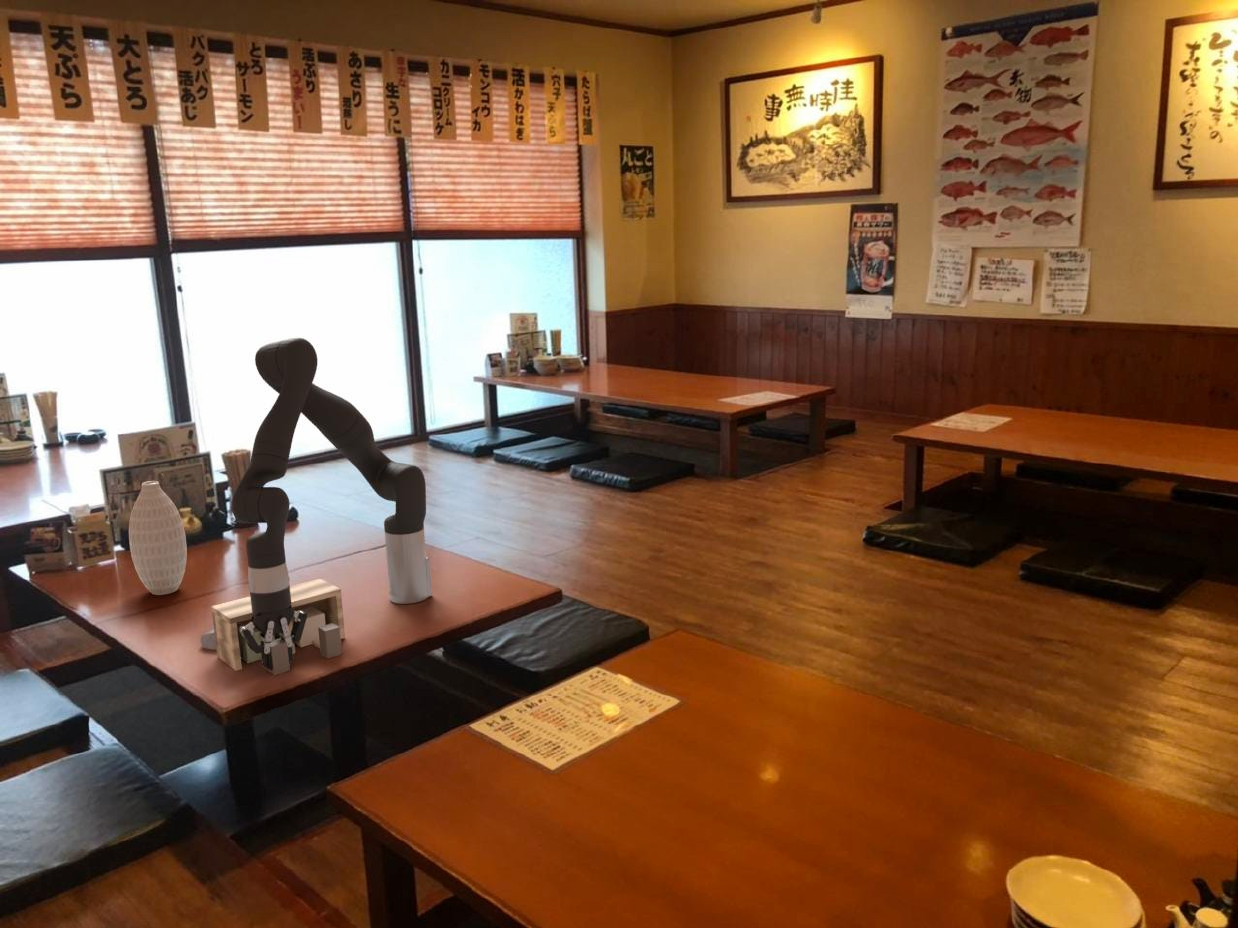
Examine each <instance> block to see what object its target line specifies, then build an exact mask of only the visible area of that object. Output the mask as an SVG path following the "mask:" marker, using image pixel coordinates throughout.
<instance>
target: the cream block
mask: <svg viewBox="0 0 1238 928" xmlns="http://www.w3.org/2000/svg"><path fill="white" fill-rule="evenodd" d="M298 611H299V610H298ZM301 611H303V612H305V613H306V614H307V619H306V623H305V626H304V629H303V633H302V636H301V640H300V641H298V642H295V643H294V644H295V645H296V646H298V647H299V648H303V647H307V646H309V645H314V647H316V648H318V649H320V655H321V656H323V657H324V658H327V659H330V658H333V657H336V656H340V655H342V654H343V651H342V639H341V638H340V627H338V626H337V625H335V624H333V623H331V624H328V625H326V624H325V614H324V613H323V612H321V611H319V610H317V609H316V608H314V607H309V608H305V609H302V610H301ZM293 624H294V620H293V618H292V625H293Z"/></svg>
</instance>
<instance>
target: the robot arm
mask: <svg viewBox="0 0 1238 928" xmlns="http://www.w3.org/2000/svg"><path fill="white" fill-rule="evenodd" d="M317 355H318V354H317V352H316V349H315V347H314V346H313V344H312V343H311V342H310V341H309V340H307V339H306V338H304V337H293V338H288V339H282V340H279V341H274V342H270V343H267V344H265V345H263V346H261V347H260V348H258V350H257V351H256V353H255V356H254V362H255V363H254V364H255V368H256V370H257V372H258V374H259V375H260V377H261V378H262V380H263V381H264V382H265V383H266V385H268V386H269V387H271V388H272V390H274V391H275V392H276V393H278V396H277V398H276V400H275V402H274V403H273V405H272V407H271V409H270V410H269V412H268V413H267V414H266V416H265V417H264V419H263V420H262V422H261V424H260V426H259V427H258V430H257V432H256V435H255V437H254V442H253V446H252V451H251V456H250V461H249V464H248V466H247V468H246V470H245V472H244V474H243V476H242V477H241V480H240V481H239V483H238V485H237V487H236V489H235V491H234V493H233V496H232V499H231V511H232V515H233V517H234V518H235V519H236V520H237V522H240V523H245V524H266V530H265V531H263V532H258V533H254V534H251V535H250V536H248V538H247V539H246V542H245V548H246V549H245V550H246V557H247V565H248V569H247V570H248V574H247V577H248V578H247V579H248V588H249V595H250V596H249V597H250V598H251V607H252V613H253V614H252V618H251V622H250V623H249V624H247V625H246V626H241V627H239V632H240V633H241V635H242V637H243V638H244V640H245V641H246V643H247V644H248V646H249V647H250V649H251V650H252V651H254V652H255V653H257V654H258V653H261V657H262V660H261V665H262V667H264V668H265V669H266V670H267V671H268V670H269V671H270V670H273V665H272V656H271V653H270V646H271V642H272V636H273V635H275V634H277V633H279V635H280V638H281V639H282V640H284V641H285V642H287V648H288V657H289V665H291V664H292V662H293V659H294V653H293V651H292V645H293V644H295V642H298V641H300V640H301V636H302V633H303V629H304V626H305V623H306V619H307V614H306V613H305V612H303V611H301V610H299V611H294V609H293V608H292V606H291V594H290V586H291V585H290V576H289V569H288V566H287V559H286V551H285V537H286V536H285V535H286V528H287V521H288V517H289V513H290V506H291V505H290V499H289V496H288V494H287V493H286V491H285V490H284V489H283V488H281V487H278V486H276V487H275V486H265V485H267V484H268V483H270V482H273V481H277V480H281V479H282V478H284V477H285V475H286V474H287V469H288V466H289V465H288V464H289V461H290V460H289V459H290V454H291V451H292V450H291V449H292V443H293V439H294V435H295V432H296V428H297V425H298V422H299V419H300V416H301V414H302V415H303V416H304V417H305V418H306V420H308V421H309V422H311V424H313V425H314V426H315V428H316V429H317V430H318V431H319V432H320V433H321V434H322V435H323V436H324V437H325V438H326V439H327V440H328V442H330V444H332V445H333V447H334V448H335V449H337V450H338V451H339V452H340V453H341V455H343V456H344V457H345V458H346V460H348V461H349V463H351V464H352V465H353V466H354V468H356V469H357V470H358V471H359V473H360V474H361V475H362V476H363V478H364V479H365V480H366V482H367V483H368V484H369V486H370V487H371V488H372V490H373V491H374V492H375V493H376V494H377V495H378V497H380V498H381V499H384V500H385V501H389V502H395V514H392V515H389V516H387V517H386V518H385V519H384V522H383V527H384V541H385V553H386V565H387V578H388V587H389V588H388V591H389V593H388V594H389V599H390V602H392V603H394V604H398V605H399V604H402V605H406V604H408V605H409V604H415V603H420V602H422V601H425V600H427V599H428V598H429V597H431V596H433V588H432V587H433V586H432V574H431V570H432V569H431V560H430V558H429V557H428V556H427V551H426V550H427V549H426V539H425V537H426V536H425V525H424V524H425V520H426V519H425V518H426V516H427V515H426V514H427V492H426V491H427V490H426V489H427V488H426V478H425V475H424V472H423V471H422V469H421V468H420V467H419V466H418V465H415V464H408V463H403V462H402V463H401V462H396V461H394V460H392V459H391V458H389V457H388V456H387V455H386V454H385V453H383V451H382V450H381V449H380V448H379V447H378V446H377V444H376V441H375V436H374V430H373V428H372V426H371V424H370V422H369V421H368V420H367V418H366V417H365V416H364V415H363V414H362V413H361V412H360V410H358V408H356V407H355V406H354V405H353V404H352V403H351V402H350V401H348V400H346V399H345V398H343V397H341V396H339V395H337V394H335V393H333V392H331V391H328V390H326V389H324V388H321V387H320V386H318V385H317V384H315V383H313V382H314V379H315V377H316V373H317V369H318V356H317ZM292 618H293V620H294V624H293V627H292V631H291V634H290V631H289V627H288V626H289V624H290V622H291V620H292ZM254 627H256V628H257V629H258V630H259V631H260V633H259V639H260V645H258V644H257V642H256V641H255V639H254V637H253V636H252V635H253V633H254V631H253V628H254ZM269 671H268V672H269Z"/></svg>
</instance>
